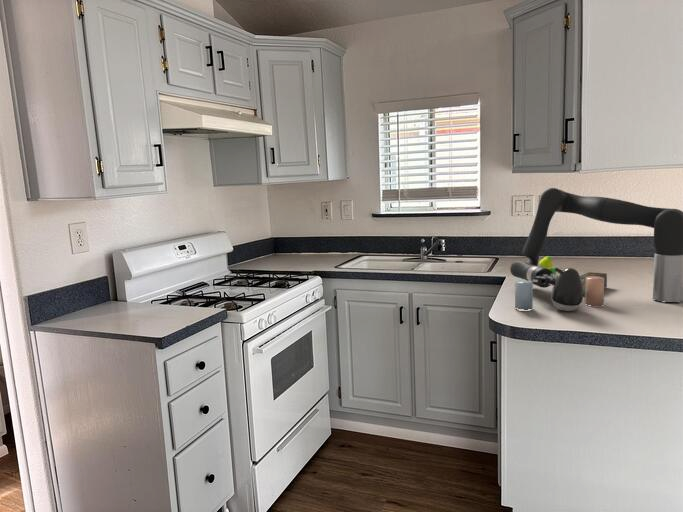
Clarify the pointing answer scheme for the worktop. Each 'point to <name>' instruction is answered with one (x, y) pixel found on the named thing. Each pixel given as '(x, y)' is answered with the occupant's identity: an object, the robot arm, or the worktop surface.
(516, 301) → the slate-blue canister
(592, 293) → the terracotta canister
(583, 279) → the beverage carton
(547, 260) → the fruit basket
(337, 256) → the worktop surface
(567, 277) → the pump dispenser
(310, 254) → the worktop surface
